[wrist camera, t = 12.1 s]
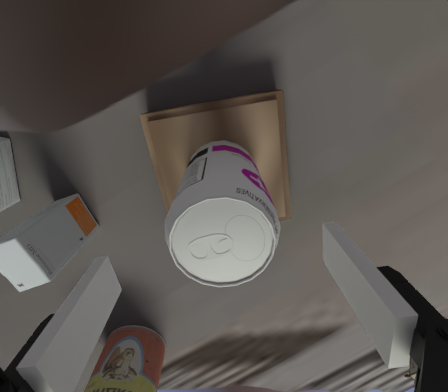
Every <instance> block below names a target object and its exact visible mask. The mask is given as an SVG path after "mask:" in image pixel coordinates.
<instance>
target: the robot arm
mask: <svg viewBox="0 0 448 392" xmlns="http://www.w3.org/2000/svg"><path fill="white" fill-rule="evenodd" d="M323 262H324V263H325V265H326V267H327V268H328V270H329V272H330V273H331V275H332V277H333V278H334V280H335V282H336V283H337V285H338V287H339V288H340V290H341V291H342V293H343V295H344V296H345V298H346V300H347V301H348V303H349V305H350V306H351V308H352V310H353V311H354V313H355V315H356V316H357V318H358V320H359V321H360V323H361V325H362V326H363V328H364V329H365V331H366V333H367V334H368V336H369V338H370V339H371V341H372V343H373V344H374V346H375V348H376V349H377V351H378V353H379V354H380V356H381V358H382V359H383V361H384V362H385V364H386V366H387V367H388V368H396V367H404V366H408V364H409V359H410V356H411V358H412V359H413V361H414V362H415V363H416V365H417V366H418V368H417V372H416V377H415V381H414V384H415V390H414V392H448V319H445V318H444V317H443V316H442V315H441V314H440V313H439V312H438V311H437V310H436V309H435V308H434V307H433V306H432V305H431V304H430V303H429V302H428V301H427V300H426V299H425V298H424V297H423V296H422V295H421V294H420V293H419V292H418V291H417V290H415V288H414V287H413V286H412V285H411V284H410V283H408V281H407V280H406V279H405V278H404V277H403V276H402V274H401V273H400V272H398V271H396V270H394V269H393V268H391V267H389V266H383V267H376V266H375V265H374V264H373V263H372V262H371V261H370V260H369V259H368V257H367V256H366V255H365V254H364V253H363V252H362V251H361V249H360V248H359V247H358V246H357V245H356V244H355V243H354V241H353V240H352V239H351V238H350V237H349V236H348V235H347V234H346V232H345V231H344V230H343V229H342V228H341V227H340V226H339V224H338V223H337V222H336V221H335V222H328V223H323ZM121 291H122V289H121V286H120V284H119V282H118V279H117V277H116V274H115V272H114V270H113V267H112V265H111V263H110V260H109V258H108V256H102V257H96V258H95V259H94V260H93V262H92V263H91V265H90V266H89V267H88V269H87V270H86V271H85V273H84V274H83V276H82V277H81V278H80V280H79V281H78V283H77V284H76V285H75V287H74V288H73V290H72V291H71V292H70V294H69V295H68V296H67V298H66V299H65V301H64V302H63V303H62V305H61V306H60V308H59V309H58V310H57V312H56V313H55V314H51V315H49V316H48V317H47V318H46V319H45V320H44V321H43V322H42V323H40V325H39V326H38V327H37V329H36V330H35V331H34V333H33V335H32V336H31V337H30V338H29V339H28V341H27V343H26V344H25V345H24V346H23V347H22V349H21V350H20V351H19V353H18V354H17V355H16V357H15V358H14V359H13V361H12V362H11V363H10V365H9V366H8V367H7V369H6V370H5V371H3V370H2V369H1V368H0V392H74V390H75V388H76V386H77V384H78V382H79V380H80V377H81V375H82V373H83V371H84V369H85V367H86V365H87V363H88V361H89V358H90V356H91V354H92V352H93V350H94V348H95V346H96V344H97V342H98V339H99V337H100V335H101V333H102V331H103V329H104V327H105V325H106V323H107V320H108V318H109V316H110V314H111V312H112V310H113V308H114V306H115V304H116V301H117V299H118V297H119V295H120V293H121Z"/></svg>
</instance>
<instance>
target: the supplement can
mask: <svg viewBox="0 0 448 392" xmlns="http://www.w3.org/2000/svg"><path fill="white" fill-rule="evenodd" d="M279 233H280V224H279V219H278V215H277V211H276V208H275V206H274V204H273V202H272V199H271V197H270V195H269V193H268V191H267V188H266V186H265V184H264V182H263V179H262V177H261V175H260V173H259V170H258V168H257V166H256V164H255V162H254V160H253V158H252V157H251V155H250V154H249V152H248V151H247V150H246V149H244V148H243V147H241V146H240V145H238V144H237V143H233V142H229V141H225V140H222V141H212V142H210V143H208V144H206V145H203V146H201V147H200V148H199V149H198V150H197V151H196V152H195V153H194V154H193V155H192V157H191V159H190V161H189V164H188V166H187V168H186V171H185V173H184V176H183V178H182V180H181V183H180V185H179V188H178V190H177V192H176V195H175V197H174V200H173V202H172V204H171V207H170V209H169V212H168V214H167V217H166V219H165V240H166V242H167V245H168V247H169V249H170V253H171V255H172V257H173V260H174V262H175V264H176V266H177V267H178V268H179V269H180V270H181V271H182V272H183V273H184V274H185V275H186V276H187V277H189V278H191V279H193V280H195V281H197V282H199V283H201V284H204V285H210V286H215V287H227V286H237V285H239V284H242V283H245V282H247V281H250V280H252V279H253V278H255V277H256V276H257V275H258V274H260V273H261V272H262V271H264V270H265V268H266V267H267V265H268V264H269V262H270V261H271V259H272V257H273V254H274V250H275V248H276V246H277V244H278V239H279Z"/></svg>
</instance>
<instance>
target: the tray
mask: <svg viewBox="0 0 448 392" xmlns="http://www.w3.org/2000/svg"><path fill="white" fill-rule="evenodd" d="M139 117H140V120H141V124H142V127H143V131H144V134H145V138H146V141H147V145H148V148H149V152H150V155H151V159H152V162H153V166H154V169H155V173H156V176H157V180H158V183H159V187H160V190H161V194H162V197H163V201H164V205H165V208H166V212H167V214H168V212H169V209H170V207H171V204H172V202H173V200H174V197H175V195H176V192H177V190H178V188H179V185H180V183H181V180H182V178H183V176H184V173H185V171H186V168H187V166H188V164H189V161H190V159H191V157H192V155H193V154H194V153H195V152H196V151H197V150H198V149H199V148H200V147H201V146H203V145H206V144H208V143H210V142H212V141H222V140H225V141H229V142H233V143H237V144H238V145H240V146H241V147H243V148H244V149H246V150H247V151H248V152H249V154H250V155H251V157H252V158H253V160H254V162H255V164H256V166H257V168H258V170H259V173H260V175H261V177H262V179H263V182H264V184H265V186H266V188H267V191H268V193H269V195H270V197H271V199H272V202H273V204H274V206H275V208H276V211H277V215H278V219H279V221H281V220H288V219H291V211H290V195H289V179H288V163H287V147H286V132H285V116H284V100H283V90H272V91H266V92H261V93H255V94H249V95H243V96H238V97H232V98H226V99H220V100H215V101H209V102H203V103H198V104H192V105H186V106H180V107H175V108H169V109H163V110H157V111H152V112H147V113H144V114H141V115H139Z"/></svg>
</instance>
